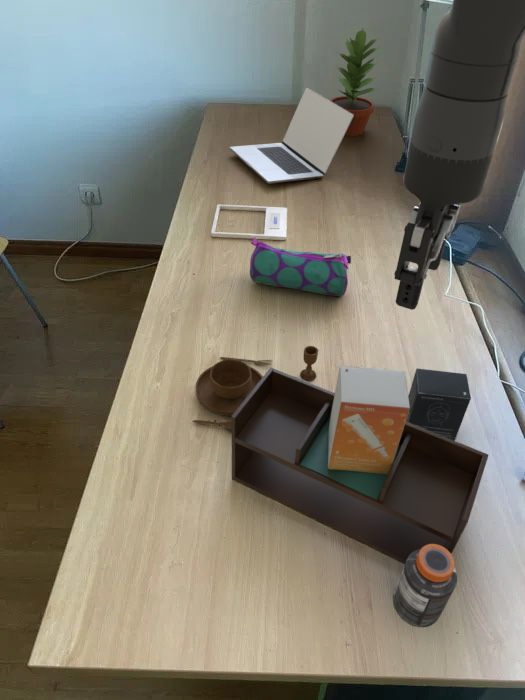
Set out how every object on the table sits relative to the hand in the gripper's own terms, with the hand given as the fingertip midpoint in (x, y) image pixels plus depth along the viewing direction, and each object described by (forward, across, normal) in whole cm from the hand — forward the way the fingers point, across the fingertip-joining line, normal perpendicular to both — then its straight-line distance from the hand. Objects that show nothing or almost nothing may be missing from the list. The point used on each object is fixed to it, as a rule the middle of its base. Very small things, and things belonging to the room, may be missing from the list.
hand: (417, 285), depth 62 cm
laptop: (+34, +92, +61) cm, 116 cm away
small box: (+24, -6, +1) cm, 25 cm away
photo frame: (+34, +56, +53) cm, 84 cm away
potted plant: (+35, +128, +55) cm, 144 cm away
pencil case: (+34, +38, +31) cm, 60 cm away
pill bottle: (+35, -16, -12) cm, 40 cm away
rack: (+34, -6, +2) cm, 35 cm away
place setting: (+34, +5, +23) cm, 42 cm away
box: (+35, +13, -5) cm, 37 cm away
